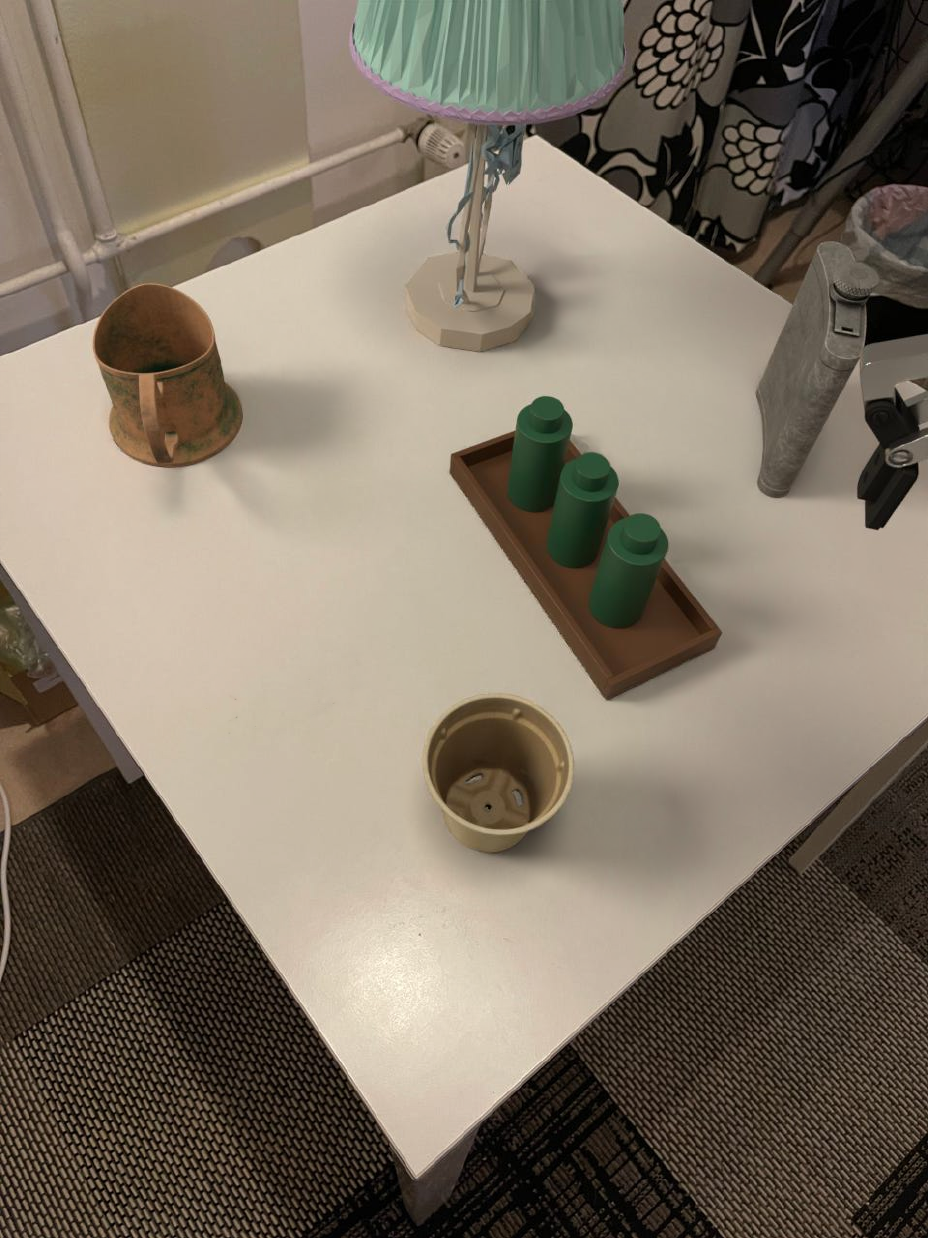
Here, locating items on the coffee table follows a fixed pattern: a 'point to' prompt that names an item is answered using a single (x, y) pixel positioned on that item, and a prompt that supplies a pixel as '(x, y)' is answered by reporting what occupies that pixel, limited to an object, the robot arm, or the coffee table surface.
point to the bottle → (627, 570)
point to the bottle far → (539, 454)
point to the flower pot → (497, 769)
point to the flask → (812, 362)
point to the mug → (164, 378)
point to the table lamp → (486, 125)
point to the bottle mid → (581, 510)
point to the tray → (583, 582)
